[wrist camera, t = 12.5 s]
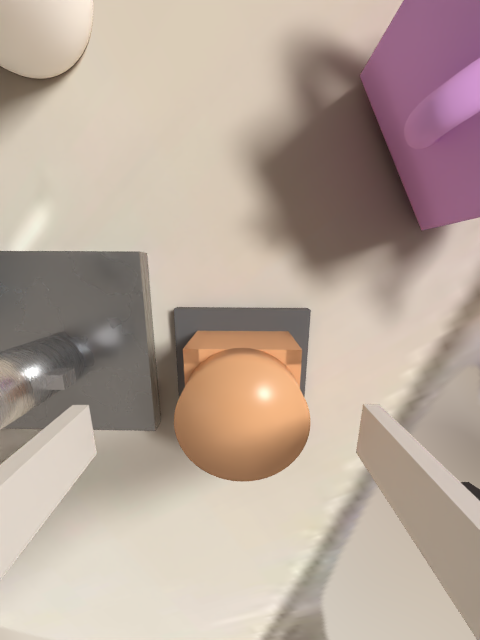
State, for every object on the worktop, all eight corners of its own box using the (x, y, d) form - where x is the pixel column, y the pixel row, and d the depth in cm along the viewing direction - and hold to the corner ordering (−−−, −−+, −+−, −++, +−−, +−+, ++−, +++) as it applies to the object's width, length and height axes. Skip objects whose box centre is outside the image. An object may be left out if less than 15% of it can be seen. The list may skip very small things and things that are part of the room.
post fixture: (2, 418, 19) (-207, 545, 10) (-41, 252, 16) (-385, 229, 7) (160, 420, 19) (87, 552, 10) (146, 253, 16) (25, 229, 7)
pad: (183, 421, 19) (180, 427, 18) (177, 307, 17) (173, 308, 16) (299, 423, 19) (301, 429, 18) (307, 308, 17) (310, 309, 16)
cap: (195, 329, 17) (169, 361, 11) (289, 329, 16) (315, 362, 11) (199, 412, 18) (178, 480, 12) (285, 413, 18) (305, 482, 12)
